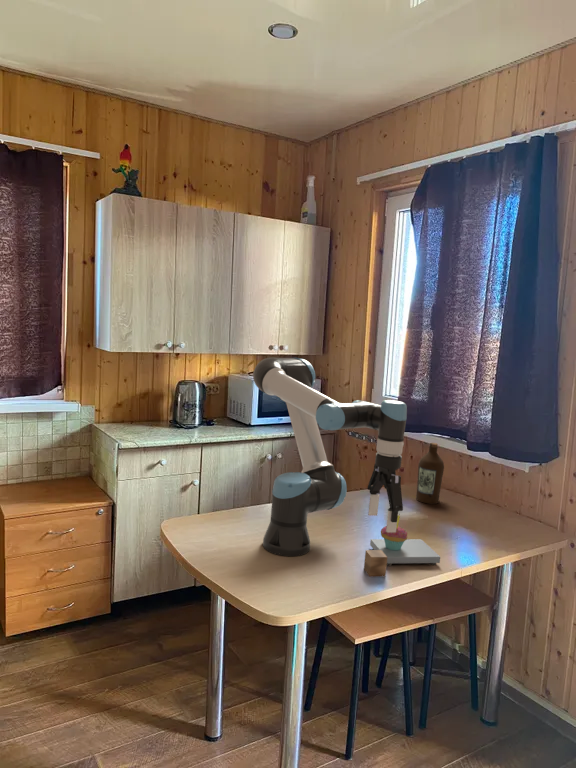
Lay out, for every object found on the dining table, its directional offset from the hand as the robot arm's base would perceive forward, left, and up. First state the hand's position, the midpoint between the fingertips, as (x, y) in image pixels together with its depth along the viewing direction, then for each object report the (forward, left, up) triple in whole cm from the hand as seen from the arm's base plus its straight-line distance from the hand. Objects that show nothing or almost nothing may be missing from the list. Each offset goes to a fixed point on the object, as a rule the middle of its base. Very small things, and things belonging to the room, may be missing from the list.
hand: (381, 523), depth 173 cm
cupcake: (+9, +10, -12) cm, 18 cm away
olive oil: (+48, +67, -15) cm, 84 cm away
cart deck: (+13, +10, -15) cm, 22 cm away
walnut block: (-1, -1, -15) cm, 15 cm away
